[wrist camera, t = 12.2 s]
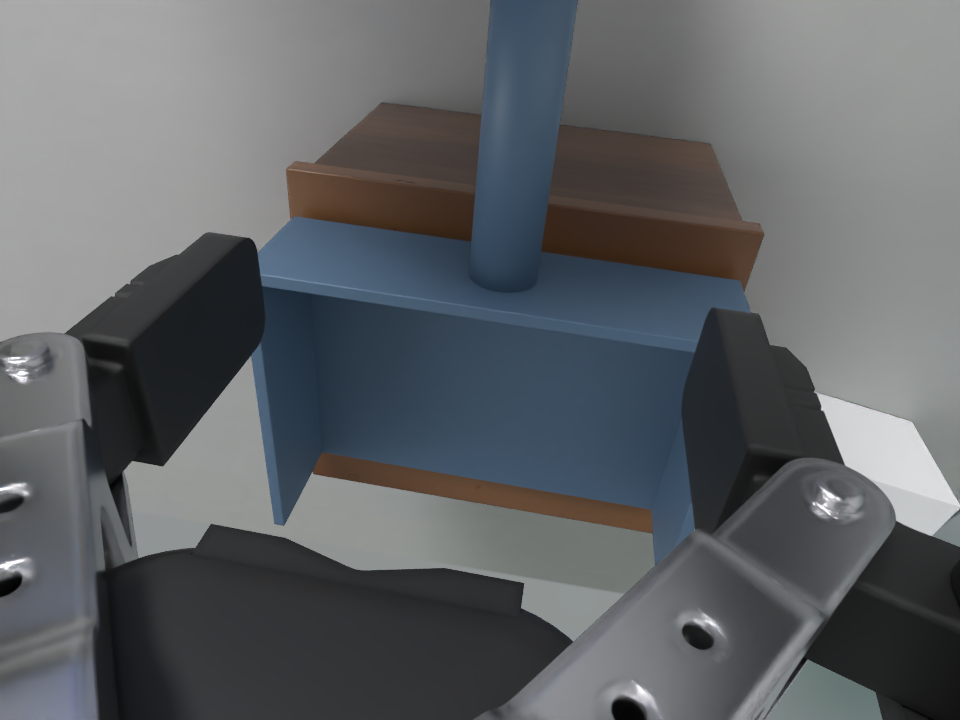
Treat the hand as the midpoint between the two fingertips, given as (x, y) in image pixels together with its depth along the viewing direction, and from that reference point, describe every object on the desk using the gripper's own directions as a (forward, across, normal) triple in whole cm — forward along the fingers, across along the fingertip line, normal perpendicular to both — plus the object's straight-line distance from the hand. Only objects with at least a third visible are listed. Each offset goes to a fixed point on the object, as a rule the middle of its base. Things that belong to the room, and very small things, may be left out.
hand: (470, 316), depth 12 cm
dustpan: (+10, 0, +3) cm, 10 cm away
